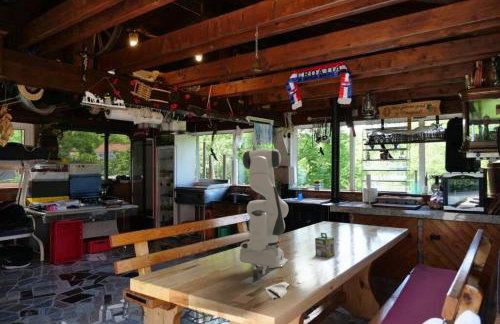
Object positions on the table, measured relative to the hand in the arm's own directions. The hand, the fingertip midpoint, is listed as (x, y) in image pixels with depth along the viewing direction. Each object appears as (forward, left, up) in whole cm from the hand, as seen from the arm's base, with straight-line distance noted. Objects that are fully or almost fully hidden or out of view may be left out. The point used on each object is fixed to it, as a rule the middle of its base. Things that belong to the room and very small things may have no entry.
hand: (259, 273), depth 170 cm
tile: (+11, 0, -8) cm, 14 cm away
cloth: (-3, +8, -9) cm, 12 cm away
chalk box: (-76, +8, -8) cm, 77 cm away
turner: (+1, 0, -2) cm, 2 cm away
